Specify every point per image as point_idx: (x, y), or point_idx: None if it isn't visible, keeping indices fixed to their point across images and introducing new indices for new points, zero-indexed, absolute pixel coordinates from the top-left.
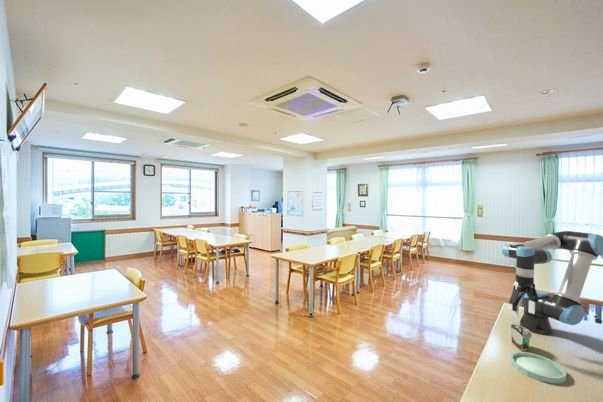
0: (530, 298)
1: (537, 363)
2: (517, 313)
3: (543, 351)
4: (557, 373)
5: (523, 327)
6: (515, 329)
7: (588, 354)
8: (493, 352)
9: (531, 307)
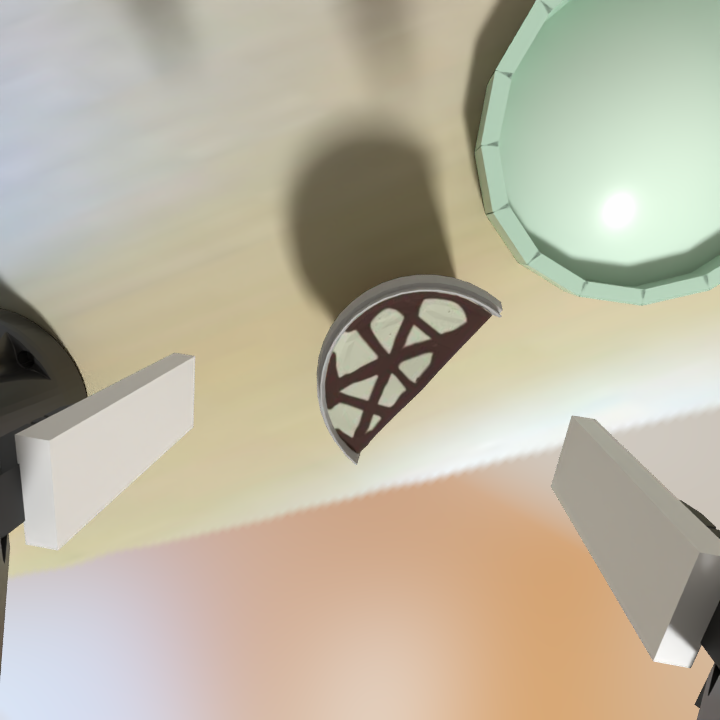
0: (3, 564)
1: (584, 155)
2: (629, 456)
3: (309, 225)
4: (621, 7)
5: (322, 378)
6: (402, 406)
7: (47, 32)
8: (643, 394)
9: (145, 427)
